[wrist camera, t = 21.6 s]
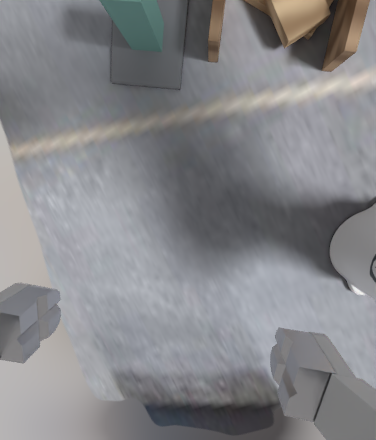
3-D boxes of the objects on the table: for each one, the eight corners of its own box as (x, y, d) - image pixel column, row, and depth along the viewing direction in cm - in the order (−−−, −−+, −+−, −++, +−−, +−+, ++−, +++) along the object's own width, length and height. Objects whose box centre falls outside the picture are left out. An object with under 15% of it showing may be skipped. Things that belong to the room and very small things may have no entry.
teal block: (164, 22, 34) (143, -43, 24) (161, 52, 35) (140, 2, 25) (133, 20, 35) (99, -45, 24) (132, 49, 36) (98, -1, 25)
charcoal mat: (189, -11, 33) (189, -14, 33) (180, 89, 37) (179, 88, 36) (114, -16, 34) (113, -19, 34) (112, 83, 38) (110, 82, 37)
